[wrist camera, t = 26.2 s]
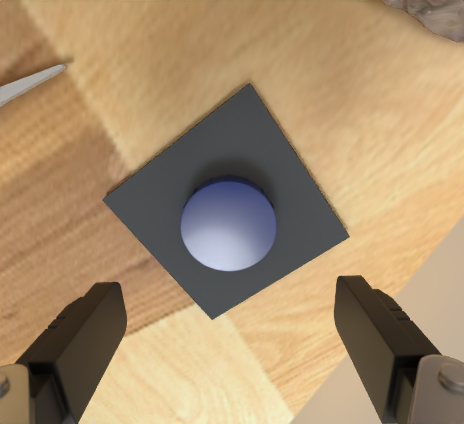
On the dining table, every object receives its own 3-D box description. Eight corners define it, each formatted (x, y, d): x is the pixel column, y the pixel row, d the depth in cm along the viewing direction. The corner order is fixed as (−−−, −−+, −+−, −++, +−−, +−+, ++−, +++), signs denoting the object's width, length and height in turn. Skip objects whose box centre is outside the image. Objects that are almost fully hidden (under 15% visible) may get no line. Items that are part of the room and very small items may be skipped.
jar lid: (291, 206, 18) (297, 216, 16) (240, 272, 20) (241, 287, 18) (215, 156, 17) (213, 160, 15) (168, 229, 19) (161, 241, 17)
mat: (105, 197, 19) (101, 199, 18) (249, 83, 16) (249, 82, 16) (212, 315, 22) (211, 320, 21) (346, 233, 19) (350, 237, 19)
